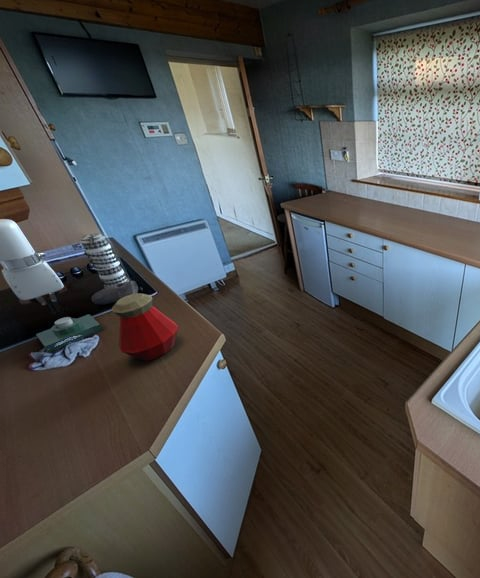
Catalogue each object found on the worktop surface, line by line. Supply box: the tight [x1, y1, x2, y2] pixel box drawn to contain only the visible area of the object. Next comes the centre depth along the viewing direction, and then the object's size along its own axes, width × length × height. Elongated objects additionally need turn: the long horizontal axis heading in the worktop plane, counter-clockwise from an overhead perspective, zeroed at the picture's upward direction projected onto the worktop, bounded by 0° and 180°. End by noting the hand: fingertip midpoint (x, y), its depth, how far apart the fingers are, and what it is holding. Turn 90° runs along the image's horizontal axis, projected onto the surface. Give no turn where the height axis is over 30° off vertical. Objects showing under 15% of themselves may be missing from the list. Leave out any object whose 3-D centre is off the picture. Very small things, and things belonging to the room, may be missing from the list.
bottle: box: [111, 292, 179, 362], centre depth 89 cm, size 16×14×20 cm
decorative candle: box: [79, 233, 130, 289], centre depth 122 cm, size 9×9×25 cm
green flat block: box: [35, 314, 104, 353], centre depth 100 cm, size 14×11×4 cm
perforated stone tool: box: [91, 280, 139, 306], centre depth 119 cm, size 15×5×7 cm, turn 128°
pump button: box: [54, 316, 74, 329], centre depth 99 cm, size 4×4×2 cm
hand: (55, 311), depth 97 cm, fingers closed
